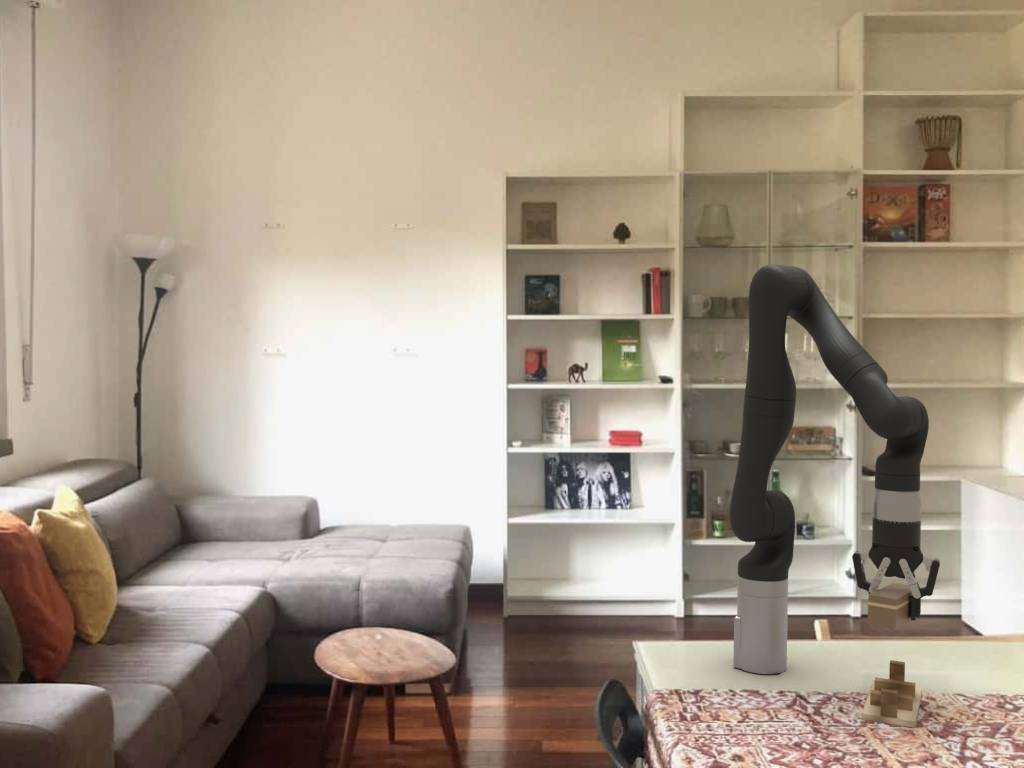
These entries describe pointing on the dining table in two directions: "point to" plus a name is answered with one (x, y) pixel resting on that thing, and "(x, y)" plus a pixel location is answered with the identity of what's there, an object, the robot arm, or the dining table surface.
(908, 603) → the brown rectangular box
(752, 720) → the dining table surface
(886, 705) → the display cradle
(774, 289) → the robot arm
